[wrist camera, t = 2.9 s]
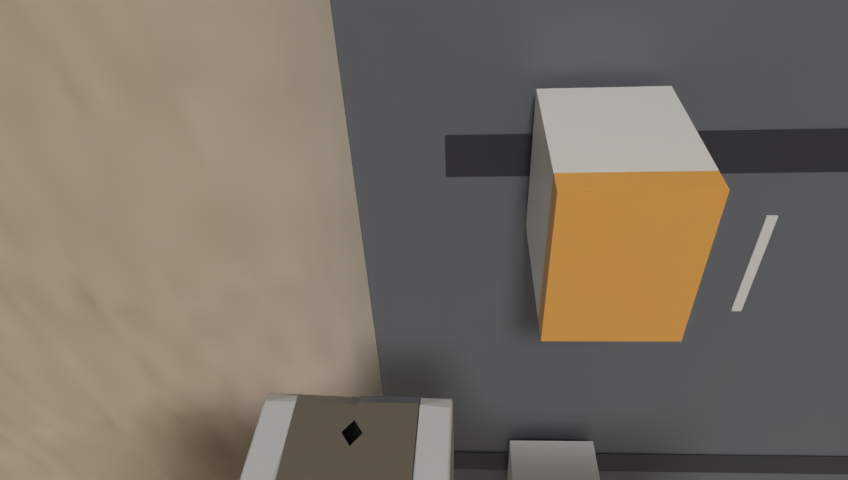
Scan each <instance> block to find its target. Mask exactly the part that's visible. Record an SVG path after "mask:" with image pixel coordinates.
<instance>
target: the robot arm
mask: <svg viewBox="0 0 848 480" xmlns="http://www.w3.org/2000/svg"><path fill="white" fill-rule="evenodd" d="M240 480H454V427H453V399H452V398H421V397H376V396H361V397H342V396H321V395H302V394H273V393H270V394H269V396H268V397H267V399H266V401H265V402H264V404H263V407H262V411H261V414H260V417H259V420H258V423H257V426H256V429H255V433H254V436H253V439H252V442H251V445H250V448H249V451H248V455H247V458H246V461H245V464H244V467H243V470H242V474H241V477H240Z"/></svg>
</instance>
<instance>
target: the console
mask: <svg viewBox="0 0 848 480" xmlns="http://www.w3.org/2000/svg"><path fill="white" fill-rule="evenodd" d="M330 4H331V11H332V18H333V26H334V33H335V40H336V48H337V55H338V63H339V70H340V77H341V85H342V92H343V99H344V107H345V114H346V122H347V129H348V136H349V144H350V151H351V158H352V166H353V173H354V181H355V188H356V195H357V203H358V210H359V217H360V225H361V232H362V240H363V247H364V254H365V262H366V269H367V276H368V284H369V291H370V299H371V306H372V313H373V321H374V328H375V335H376V343H377V350H378V358H379V365H380V372H381V380H382V387H383V394H384V397H421V398H452V399H453V427H454V480H507V472H508V459H509V445H510V440H520V441H593V444H594V449H595V455H596V460H597V465H598V471H599V476H600V480H848V0H330ZM641 86H672V87H673V89H674V91H675V93H676V95H677V96H678V98H679V100H680V102H681V103H682V105H683V107H684V109H685V111H686V112H687V114H688V116H689V118H690V120H691V121H692V123H693V125H694V127H695V128H696V130H697V132H698V134H699V136H700V137H701V139H702V141H703V143H704V145H705V146H706V148H707V150H708V152H709V153H710V155H711V157H712V159H713V161H714V162H715V164H716V166H717V168H718V170H719V171H720V173H721V175H722V177H723V178H724V180H725V182H726V184H727V186H728V187H729V189H730V191H729V194H728V197H727V200H726V204H725V207H724V210H723V213H722V216H721V219H720V222H719V225H718V229H717V232H716V235H715V238H714V241H713V244H712V247H711V250H710V254H709V257H708V260H707V263H706V266H705V269H704V272H703V275H702V279H701V282H700V285H699V288H698V291H697V294H696V297H695V300H694V304H693V307H692V310H691V313H690V316H689V319H688V322H687V325H686V329H685V332H684V335H683V338H682V341H681V342H622V341H541V338H540V331H539V323H538V315H537V308H536V300H535V293H534V285H533V277H532V270H531V262H530V254H529V247H528V239H527V231H526V219H527V205H528V192H529V179H530V165H531V152H532V139H533V125H534V112H535V99H536V89H545V88H593V87H641Z"/></svg>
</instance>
